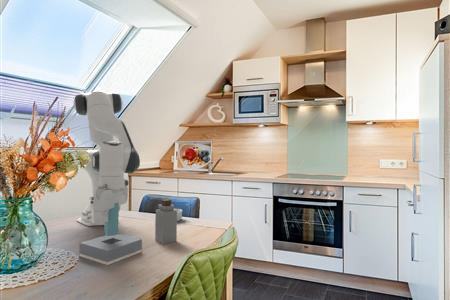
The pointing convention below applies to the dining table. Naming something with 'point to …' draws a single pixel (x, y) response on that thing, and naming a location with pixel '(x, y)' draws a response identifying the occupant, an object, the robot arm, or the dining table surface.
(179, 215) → the saucepan
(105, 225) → the peg
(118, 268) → the dining table surface
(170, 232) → the perfume bottle
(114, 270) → the dining table surface
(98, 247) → the socket block
